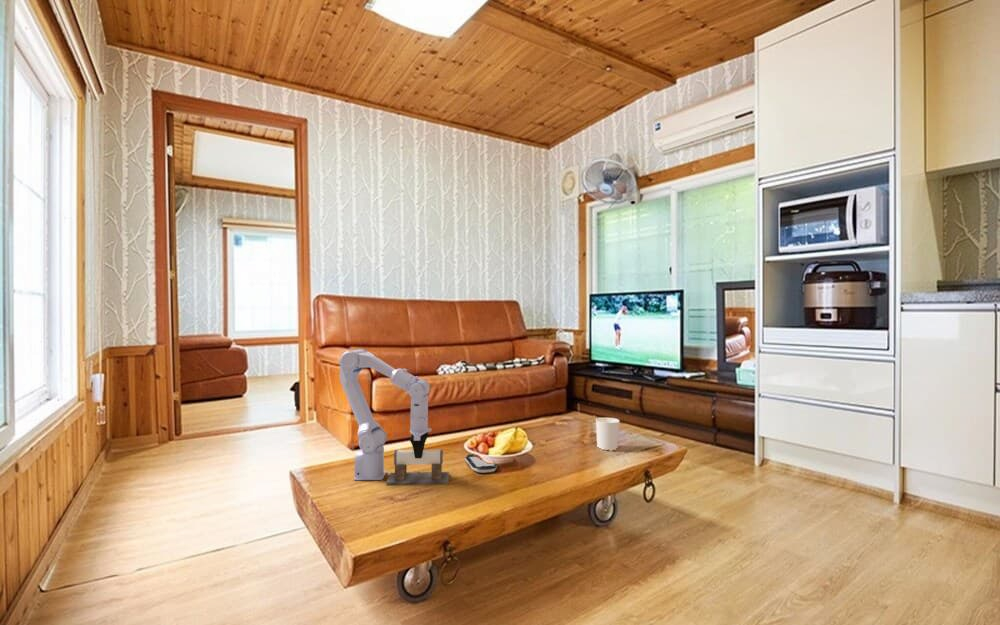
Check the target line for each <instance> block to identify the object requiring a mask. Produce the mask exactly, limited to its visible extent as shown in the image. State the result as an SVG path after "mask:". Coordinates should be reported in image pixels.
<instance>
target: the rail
mask: <svg viewBox="0 0 1000 625" xmlns="http://www.w3.org/2000/svg"><path fill="white" fill-rule="evenodd" d="M443 461H444V449H441V448H440V449H439V448H438V449H437V448H435V449H424V450H423V454H422V458H415V455H414V450H413V449H395V450H394V452H393V465H394V466H395V464H405V465H407V466H408V465H432V464H442V465H443V463H444V462H443Z"/></svg>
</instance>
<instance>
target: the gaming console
mask: <svg viewBox="0 0 1000 625" xmlns="http://www.w3.org/2000/svg"><path fill="white" fill-rule="evenodd" d="M471 454H472V453H470V454H467V455H465V457H464V458H465V459H464V460H465V462H466V464H467V465H468V467H470V469H471V470H472V471H473V472H474V473H476V474H478V475H479V474H481V475H489V474H493V473H496V472H497V471H498V465H497V464H496V463H495V464H487V463H485V462H483V461H482V460H480V459H479V458H477V457H475V456H473V455H471Z"/></svg>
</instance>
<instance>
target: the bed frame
mask: <svg viewBox="0 0 1000 625" xmlns="http://www.w3.org/2000/svg"><path fill="white" fill-rule="evenodd" d="M442 465H443V463H442V464H431V471H425V472H424V471H422V472H421V471H420V472H418V471H417V472H415V471H414V472H412V471H411V472H409V471H407V470H408V469H407V468H408V467H407V466H408V464H407V465H405V464H395V465H394V472H390V474H389V475H388V478H387V480H386V483H385V484H386V486H411V485H413V486H414V485H415V486H416V485H420V486H421V485H448V484H449V477H450V471H443V470H442V469H443V466H442Z"/></svg>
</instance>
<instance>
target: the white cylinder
mask: <svg viewBox="0 0 1000 625" xmlns="http://www.w3.org/2000/svg"><path fill="white" fill-rule="evenodd" d="M620 423H621V422H620V419H618V418H616V417H604V416H603V417H598V418H597V417H596V418H595V430H596V434H595V435H596V446H597V447H599V448H601V449H607V450H608V449H609V450H610V449H616V448H618V449H619V437H620V435H619V433H620V432H619V431H620Z"/></svg>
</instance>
